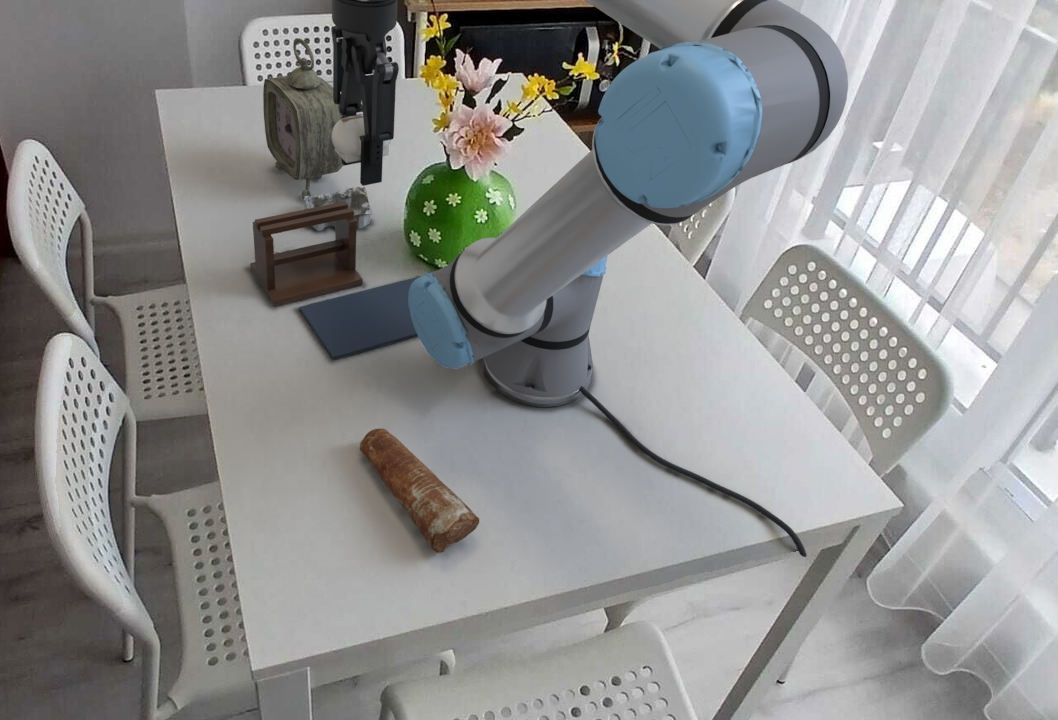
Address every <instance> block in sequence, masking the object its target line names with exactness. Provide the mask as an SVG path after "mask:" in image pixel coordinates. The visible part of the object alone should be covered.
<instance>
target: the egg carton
mask: <svg viewBox="0 0 1058 720" xmlns="http://www.w3.org/2000/svg"><path fill="white" fill-rule="evenodd" d="M303 200H304V203H305V209H310V208H315V207H320V206H324V205H329V204H334V203H339V202H344V201H346V202H347V203H348V208H352V209H353V210H354V218H355V219H356V220H357V229H359V230H362V229H364V228H365V227H366V226H367V225H370V223H371V216H372V209H371V205H370V202H369V198H368V193H367V190H366V187H365V186H362V187H360V186H356V187H349V188H346V191H340V190H338V191H336V192H332V193H326V192H325V193H321V194H317V195H313V196H312V195H311V196H304V199H303ZM335 223H336V221H332V222H328V223H323V224H318V225H313V226H309V227H310V228H314V229H315V230H316V231H318V232H320V231H324V229H325V228H326V227H334V228H335Z"/></svg>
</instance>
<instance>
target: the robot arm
mask: <svg viewBox="0 0 1058 720" xmlns="http://www.w3.org/2000/svg"><path fill="white" fill-rule="evenodd" d="M584 1H585V2H587V3H588V4H590V5H592V7H594V8H596V9H598V10H599V11H601V12H602V13H604V14H605V15H606V16H608V17H610V18H611V19H613V20H615V21H616V22H617V23H619V24H620V25H623V26H624V27H625V28H626V29H629V30H630V31H632V32H633V33H634V34H636V35H637V36H639V37H641V38H642V39H643V40H646V41H647V42H648V43H650V44H652V45H654V46H655V47H656V48H658V50H657V51H656V50H655V51H652V52H650V53H648V54H647V55H645V56H642V57H640V58H639V59H636V60H635V61H633V62H631V63H630V64H629V65H627V66H626V67H625V68H623V70H621V71H620V72H619V73H618V74H617V75H616V76H615V78H613V80H612V81H611V83H610V84H609V86H607V88H606V91H605V93H604V94H603V96H602V99H601V101H600V103H599V107H598V110H597V112H598V115H599V116H601V117H600V119H599V120H598V121H597V124H596V125H595V126H594V127H595V128H594V130H593V135H592V139H591V140H592V141H591V144H592V145H591V150H590V151H589V152H588V153H587V154H586V155H585V156H583V158H581V159H580V160H579V161H578V162H577V163H575V165H574V166H572V168H571V169H569V170H568V171H567V172H566V173H565V174H564V175H563V176H562V177H561V178H560V179H558V181H557V182H556V183H554V184H553V185H552V186H551V187H550V188H549V189H548V190H547V191H546V192H544V194H542V195H541V196H540V197H539V198H538V199H537V200H536V201H535V202H534V203H532V205H531V206H530V207H529V208H527V209H526V210H525V211H524V212H523V213H522V214H521V215H520V216H519V217H517V218H516V220H515V221H513V222H512V223H511V224H510V225H509V226H508V227H507V228H506V229H505V230H504V231H503V232H502V233H500V234H499V235H498V236H497V237H484V238H480V239H478V240H475V241H474V242H472V243H470V244H469V245H468V246H467V247H465V249H463V251H461V252H460V253H459V254H458V255H457V256H456V257H455V258H454V259H453V260H452V261H451V262H450V263H448V264H447V265H445V266H444V267H441V268H439V269H437V270H435V271H432V272H430V271H428V272H424V274H423V275H420V276H421V277H420V276H418V277H419V278H417V279H416V280H414V282H413V283H412V284H411V286H410V289H409V294H408V305H409V310H410V315H411V319H412V322H413V325H414V328H415V330H416V333H417V335H418V336H417V337H418V339H419V341H420V342H421V345H422V346H423V348H424V349H425V350H426V352H427V354H429V356H430V357H431V358H432V359H433V360H434V361H436V362H437V363H438V364H439V365H440V366H442V367H444V368H446V369H450V370H456V369H460V368H462V367H465V366H472V365H473V364H474V363H475V362H477V361H479V360H481V359H482V370H483V374H484V376H485V378H486V379H487V381H488V383H489V384H490V385H491V386H492V387H493V388H494V389H495V390H496V391H498V393H500V394H501V395H503V396H504V397H506V398H509V399H510V400H513V401H514V402H518V403H520V404H524V405H527V406H532V407H539V408H541V407H542V408H543V407H544V408H548V407H549V408H551V407H559V406H564V405H567V404H570V403H573V402H574V401H576V400H578V399H579V398H580V397H582V396H584V397H586V398H587V399H588V401H590V402H591V403H592V405H594V406H595V407H596V408H597V409H598V410H599V412H601V413H602V414H603V415H604V416H605V417H606V418H607V419H608V420H609V421H610V422H611V423H612V424H613V425H614V426H615V427H616V428H617V429H618V430H619V431H620V432H621V433H622V434H623V435H624V437H625V438H627V440H628V441H629V442H630V443H631V444H633V446H635V447H636V448H637V449H638V450H639V451H640V452H642V453H643V454H644V455H646V456H648V458H650V459H651V460H653V461H655V462H656V463H658V464H660V465H662V466H664V467H666V468H667V469H669V470H671V471H673V472H676V473H678V474H680V475H682V476H685V477H688V478H689V479H692V480H694V481H697V482H699V483H701V484H703V485H705V486H707V487H709V488H711V489H713V490H715V491H718V492H720V493H721V494H723V495H726V496H728V497H731V498H733V499H735V500H736V501H737V500H738V501H739V502H740V503H743V504H745V505H747V506H749V507H751V508H752V509H753V510H756V512H759V514H761V515H762V516H764V517H766V518H767V519H768V520H770V521H771V522H773V523H774V524H775V525H777V526H778V527H780V528H781V529H782V530H783V531H784V532H785V533H786V534H787V536H789V537H790V538H791V540H792V542H793V543H794V545H795V547H796V548H797V549H796V550H797V551H798V553H799V555H800V556H802V557H803V558H807V556H808V555H807V552H806V549H805V546H804V545H803V543H802V541H801V539H800V537H799V536H798V534H797V533H796V532H795V531H794V529H792V528H791V527H790V526H789V525H788V524H787V523H786V522H784V521H783V520H782V519H781V518H779V517H778V516H776V515H775V514H773V513H772V512H771V511H769V510H768V509H766V508H764V507H763V506H762V505H760V504H759V503H756V502H755V501H753V500H751V499H750V498H748V497H746V496H744V495H742V494H740V493H738V492H736V491H734V490H731V489H729V488H727V487H724V486H722V485H720V484H718V483H716V482H714V481H712V480H710V479H707V478H705V477H704V476H701V475H699V474H697V473H695V472H692V471H690V470H688V469H686V468H683V467H681V466H679V465H676V464H674V463H673V462H670V461H668V460H666V459H664V458H663V457H661V456H660V455H658V454H656V453H655V452H653V451H651V450H650V449H649V448H648V447H646V446H645V445H643V444H642V443H641V442H640V441H639V440H638V439H637V438H636V437H635V436H634V435H633V434H632V433H631V432H630V431H629V430H628V429H627V427H625V426H624V425H623V423H621V421H619V419H618V418H616V417H615V416H614V414H612V413H611V412H610V411H609V409H607V407H605V406H604V404H602V403H601V402H600V401H599V400H598V399H597V398H596V397H595V396H594V395H593V394H592V393H590V391H589V390H588V388H589V386H590V385H591V381H592V376H593V373H594V361H593V356H592V355H593V354H592V348H591V341H590V336H589V334H590V329H591V327H592V326H591V325H592V322H593V318H594V314H595V310H596V306H597V302H598V299H599V294H600V290H601V286H602V283H603V278H604V276H605V275H606V273H607V267H606V265H607V260H608V255H610V254H612V253H613V252H614V251H616V250H617V249H619V248H620V247H622V246H623V245H624V244H625V243H627V242H629V240H631V239H633V238H634V237H635V236H636V235H638V234H640V232H642V231H643V230H645V229H646V228H648V227H649V226H650V225H656V226H675V225H679V224H681V223H683V222H686V221H687V220H688V219H690V218H692V217H693V216H694V215H696V214H697V213H698V212H700V211H702V210H703V209H704V208H706V207H707V206H709V205H710V204H712V203H714V202H715V201H716V200H719V198H721V197H722V196H724V195H725V194H727V193H728V192H729V191H731V190H732V189H734V188H736V187H737V186H740V185H741V184H743V183H745V182H746V181H749V180H750V179H753V178H755V177H758V176H760V175H762V174H765V173H768V172H770V171H772V170H775V169H778V168H780V167H782V166H783V167H784V166H785V165H788V164H792V163H795V162H796V161H798V160H800V159H802V158H804V157H806V156H808V155H809V154H811V153H812V152H814V151H815V150H816V149H818V147H820V146H821V145H822V144H823V143H824V142H825V141H826V140H827V139H828V138H829V137H830V136H831V134H832V132H833V131H834V130H835V129H836V127H837V125H839V122H840V120H841V117H842V116H843V113H844V111H845V107H846V103H847V99H848V91H849V77H848V71H847V66H846V62H845V58H844V57H843V55H842V52H841V50H840V49H839V47H838V45H837V44H836V42H835V40H834V39H833V38H832V37H831V35H830V34H829V33H828V32H827V31H825V29H823V28H822V27H821V26H820V25H819V24H818V23H816V22H815V21H813V20H812V19H811V18H809V17H808V16H806V15H805V14H804V13H801V12H800V11H798V10H796V9H795V8H793V7H792V6H790V5H788V4H785V3H784V2H782V1H780V0H584ZM331 20H332V23H333V24H334V25H333V26H331V29H330V32H331V38H332V46H333V47H332V50H333V53H332V59H333V60H332V87H333V101H334V103H335V104H339V111H340V114H341V115H343V117H342V118H345V117H349V116H355V115H356V114H357V113H360V114H359V115H361V114H363V120H364V131H365V135H363V136H359V137H360V140H361V160H360V161H355V162H350V163H346V162H345V161H344V160H343V159H342V164H343V165H344V166H349V165H354V164H360V175H359V176H360V179H359V180H360V181H359V182H360V183H359V184H360V185H361V186H362V187H365V186H369V185H375V184H379V183H382V182H383V162H384V161H383V159H384V158H383V157H384V156H383V141H386V140H391V141H392V140H394V137H395V116H396V115H395V113H396V88H397V79H398V75H399V69H400V67H399V64H398V62H397V61H392V62H390V61H389V58H388V57H387V54H388V50H387V48H388V47H387V43H386V36H387V34H388V33H390V32H391V31H392V30H394V29H395V27H396V26H397V23H398V0H331ZM344 166H343V167H344Z"/></svg>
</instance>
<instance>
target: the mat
mask: <svg viewBox="0 0 1058 720" xmlns="http://www.w3.org/2000/svg"><path fill="white" fill-rule="evenodd" d="M421 276H422V275H420V276H416V277H412V278H407V279H404V280H400V281H397V282H392V283H388V284H385V285H380V286H376V287H372V288H369V289H365V290H361V291H357V292H353V293H349V294H345V295H341V296H337V297H333V298H329V299H325V300H321V301H316V302H313V303H310V304H305V305H302V306H299V307H298V308H299V311H300V313H301V314H302V316H303V317H304V319H305V320H306V322H307V323H308V325H309V326H310V328H311V330H312V331H313V333H314V334H315V335H316V337H317V339H318V340H319V341H320V343H321V344H322V346H323V347H324V349H325V351H326V352H327V354H328V355H329V356H330V358H331V359H332V361H335V360H336V361H337V360H339V359H343V358H346V357H349V356H353V355H356V354H361V353H363V352H367V351H370V350H373V349H374V350H375V349H377V348H381V347H384V346H388V345H392V344H395V343H398V342H403V341H405V340H409V339H412V338H417V337H418V335H417V333H416V330H415V328H414V325H413V322H412V319H411V315H410V310H409V305H408V294H409V289H410V286H411V284H412V283H413V282H414V280H416V279H417V278H419V277H421Z"/></svg>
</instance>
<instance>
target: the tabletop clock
mask: <svg viewBox="0 0 1058 720" xmlns="http://www.w3.org/2000/svg"><path fill="white" fill-rule="evenodd" d="M297 44H300V45H302V46H303V48H305V50H306V52H307V53H308V56H309V58H310V63H311V64H310V66H309V65H308V59H307V58H306V57H302V58H301V57H300V55H299V53H298V51H297V50H298V49H297ZM292 48H293V49H292V50H293V53H294V56H295V59H296V61H297V63H298V64H299V65H300V66H298V67H296V68H294V69H293V70H292V71H290V73H289V75H282V76H276V77H270V78H264V82H263V91H262V92H263V93H262V94H263V96H262V97H263V99H262V100H263V102H262V103H263V122H264V134H265V140H266V145H267V148H268V150H269V152H270V154H271V156H272V158H274V160H275V164H274V166H275V168H276V170H278V171H282V170H283V171H284V172H285V173H286V174H287V175H289V177H290V178H291V179H293V180H295V181H301V180H305V189H304V190H303V191H301V193H300V194H301V198H302V199H303V200H304V196H311V197H312V192H311V191H310V190H309V189H310V187H311V186H310V185H311V182H312V179H313V178H314V179H315V180H320V179H322V177H323V176H325V175H330V174H334V173H338V172H339V171H341V169H342V168H343V167H344V165H343V164H342V158H341V157H340V156H339V154H338V153H337V152H336V151H335V147H334V145H333V143H332V139H331V135H332V130H333V127H334V126H335V124H336V123H337V122H338V121H339V120H341V119H342V117H343V115H341V114H340V111H339V104H335V103H334V101H333V85H331V84H330V83H328V82H327V81H326V80H325V79H323V78H322V77H320V76H318V73H317V72H316V71H315V70H314V68H315V57H314V54H313V51H312V49H311V47H310V45H309V44H308V43H307V42H306V41H305V40H304V39H302V38H300V37H299V38H295V40H293V47H292Z"/></svg>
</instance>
